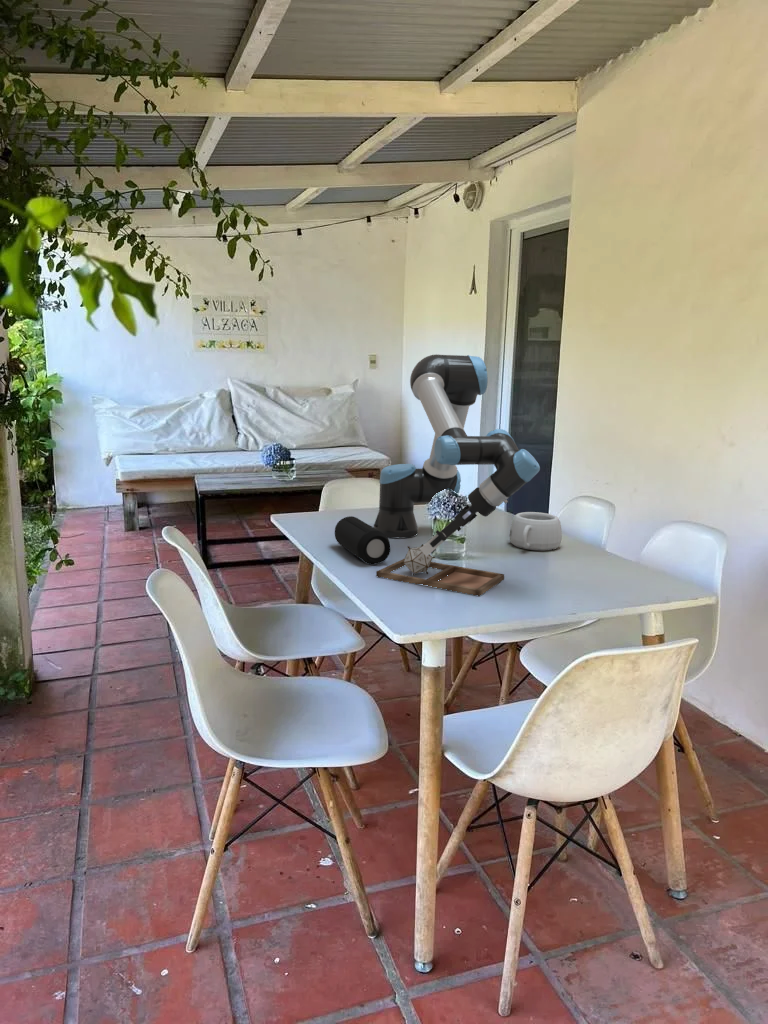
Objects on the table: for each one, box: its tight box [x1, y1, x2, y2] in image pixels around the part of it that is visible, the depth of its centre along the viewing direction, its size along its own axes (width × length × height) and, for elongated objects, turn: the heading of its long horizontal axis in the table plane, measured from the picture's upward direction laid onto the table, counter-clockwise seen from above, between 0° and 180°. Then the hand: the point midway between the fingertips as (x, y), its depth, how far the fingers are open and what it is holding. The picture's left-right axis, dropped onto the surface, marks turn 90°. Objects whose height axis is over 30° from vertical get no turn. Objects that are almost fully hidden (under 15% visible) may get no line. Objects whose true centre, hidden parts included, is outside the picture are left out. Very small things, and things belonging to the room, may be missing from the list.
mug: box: [509, 511, 563, 551], centre depth 242 cm, size 21×17×10 cm
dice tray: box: [375, 557, 505, 597], centre depth 205 cm, size 30×18×2 cm, turn 61°
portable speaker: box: [334, 515, 391, 565], centre depth 225 cm, size 26×10×10 cm, turn 23°
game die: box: [401, 543, 436, 577], centre depth 207 cm, size 9×8×10 cm
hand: (429, 546), depth 205 cm, fingers open, 13 cm apart
